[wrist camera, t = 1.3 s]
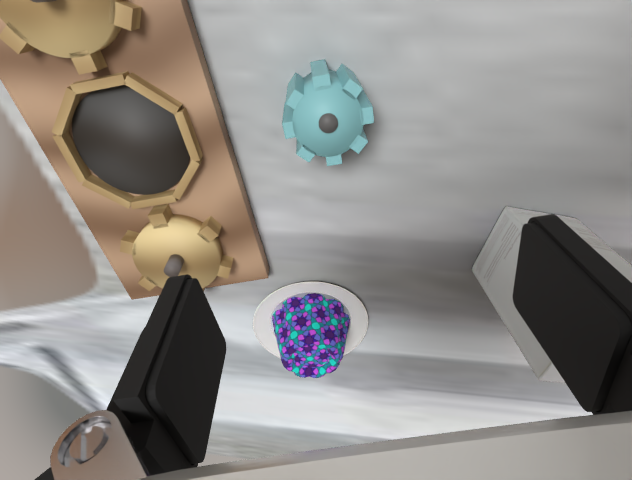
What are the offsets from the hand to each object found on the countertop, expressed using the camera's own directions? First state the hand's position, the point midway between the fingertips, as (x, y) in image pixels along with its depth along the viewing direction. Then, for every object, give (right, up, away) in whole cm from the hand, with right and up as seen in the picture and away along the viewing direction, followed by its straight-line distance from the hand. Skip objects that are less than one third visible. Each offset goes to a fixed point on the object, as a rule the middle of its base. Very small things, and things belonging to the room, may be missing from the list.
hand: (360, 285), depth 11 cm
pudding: (-2, -7, +30) cm, 31 cm away
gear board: (-15, +9, +18) cm, 25 cm away
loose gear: (-1, +11, +17) cm, 20 cm away
